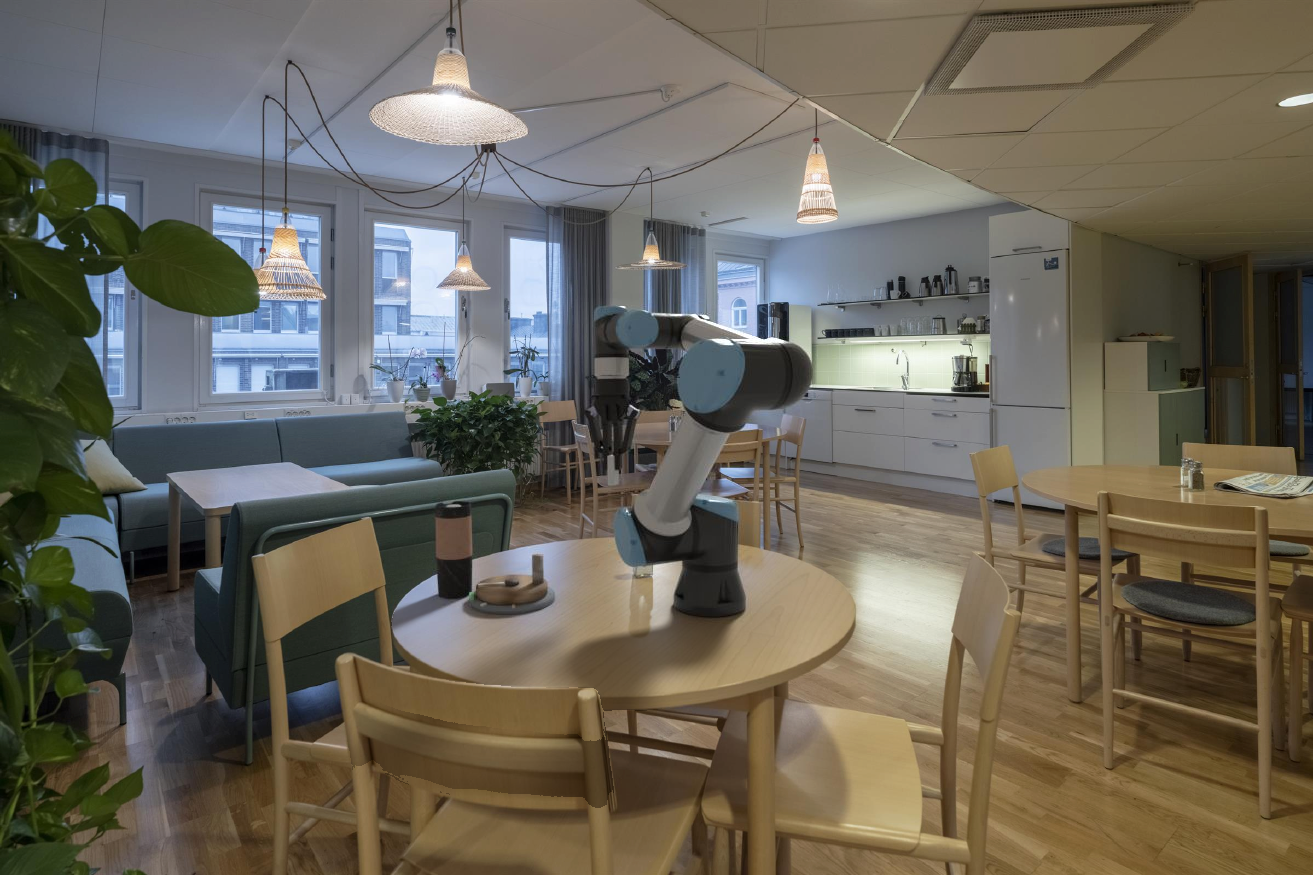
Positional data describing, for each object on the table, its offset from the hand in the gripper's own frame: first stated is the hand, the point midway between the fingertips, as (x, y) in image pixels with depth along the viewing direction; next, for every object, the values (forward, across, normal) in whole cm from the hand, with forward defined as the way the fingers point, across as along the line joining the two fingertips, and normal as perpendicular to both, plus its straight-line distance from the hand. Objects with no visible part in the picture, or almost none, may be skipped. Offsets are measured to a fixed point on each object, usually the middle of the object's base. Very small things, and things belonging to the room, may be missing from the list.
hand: (613, 484), depth 162 cm
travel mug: (+24, +32, +15) cm, 42 cm away
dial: (+22, +18, +14) cm, 32 cm away
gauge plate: (+24, +18, +14) cm, 33 cm away
